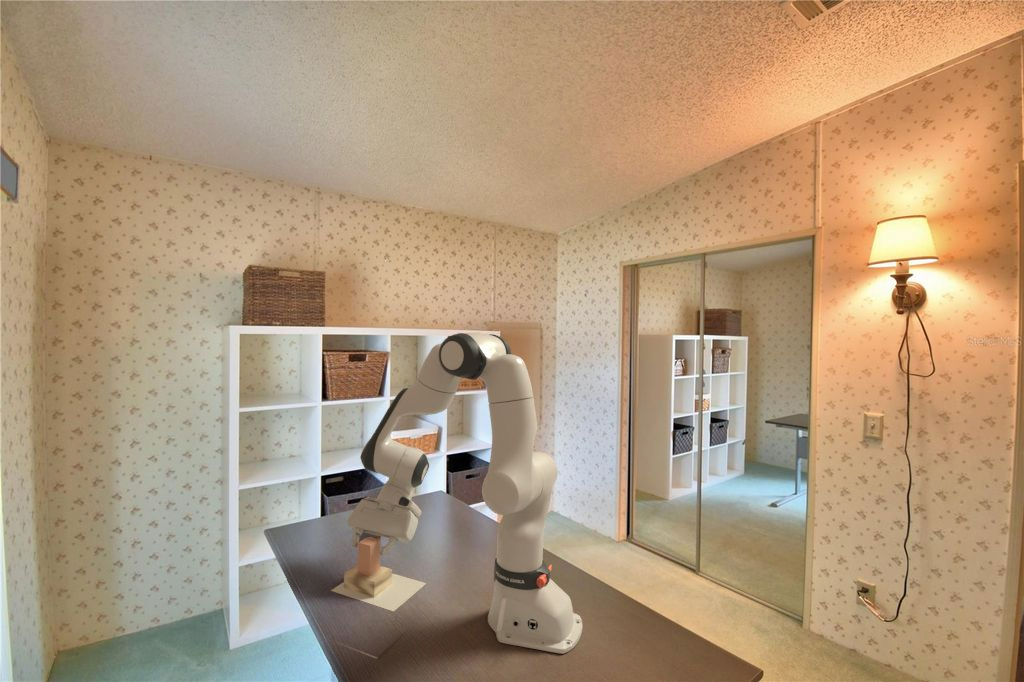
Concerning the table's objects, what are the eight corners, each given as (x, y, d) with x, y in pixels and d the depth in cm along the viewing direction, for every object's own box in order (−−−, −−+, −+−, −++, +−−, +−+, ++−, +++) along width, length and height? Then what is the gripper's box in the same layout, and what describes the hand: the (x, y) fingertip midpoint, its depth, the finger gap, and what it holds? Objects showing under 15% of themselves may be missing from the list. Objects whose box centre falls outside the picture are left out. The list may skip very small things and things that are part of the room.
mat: (426, 584, 124) (426, 583, 124) (393, 612, 111) (393, 611, 111) (367, 567, 132) (367, 566, 132) (330, 591, 119) (330, 590, 119)
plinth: (391, 584, 123) (392, 569, 123) (374, 597, 116) (374, 581, 116) (362, 575, 127) (362, 560, 127) (343, 587, 120) (344, 572, 120)
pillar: (379, 569, 122) (380, 539, 122) (369, 576, 119) (370, 545, 119) (367, 565, 124) (368, 536, 124) (357, 572, 120) (358, 542, 120)
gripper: (358, 490, 132) (331, 537, 123) (417, 503, 124) (393, 554, 115) (368, 500, 136) (343, 547, 127) (426, 513, 128) (404, 564, 119)
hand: (367, 550), depth 121 cm, fingers open, 8 cm apart
